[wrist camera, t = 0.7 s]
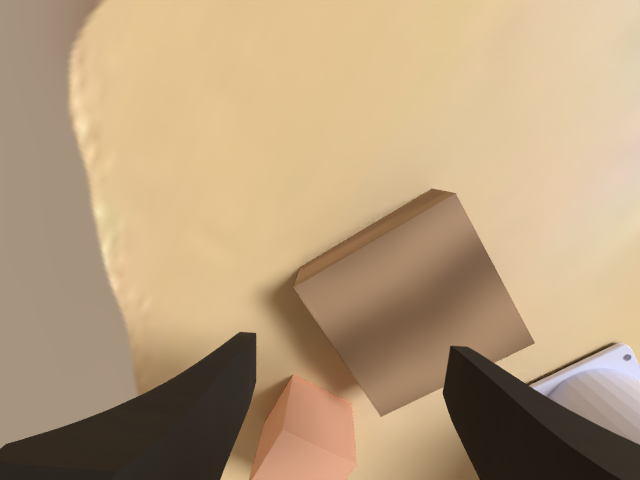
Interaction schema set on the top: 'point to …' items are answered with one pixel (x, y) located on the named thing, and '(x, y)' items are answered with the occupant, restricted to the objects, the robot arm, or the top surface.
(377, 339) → the walnut block
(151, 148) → the top surface
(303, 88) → the top surface
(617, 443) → the robot arm
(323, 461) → the terracotta cube
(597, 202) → the top surface
